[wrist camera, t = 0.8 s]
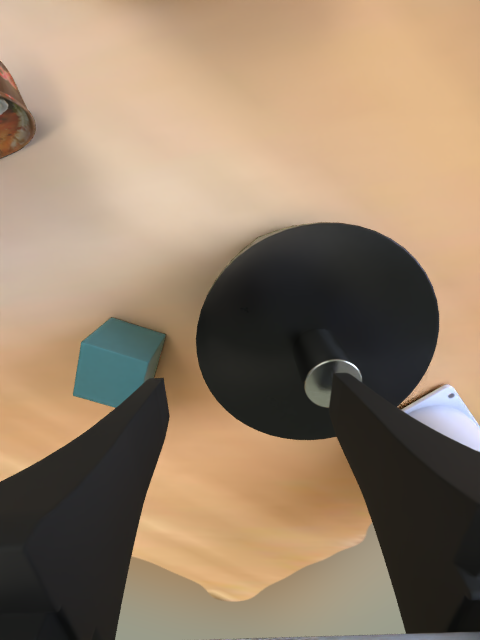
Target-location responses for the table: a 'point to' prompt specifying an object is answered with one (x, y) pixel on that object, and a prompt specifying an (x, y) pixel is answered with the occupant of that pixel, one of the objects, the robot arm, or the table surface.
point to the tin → (13, 116)
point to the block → (116, 361)
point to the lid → (315, 326)
